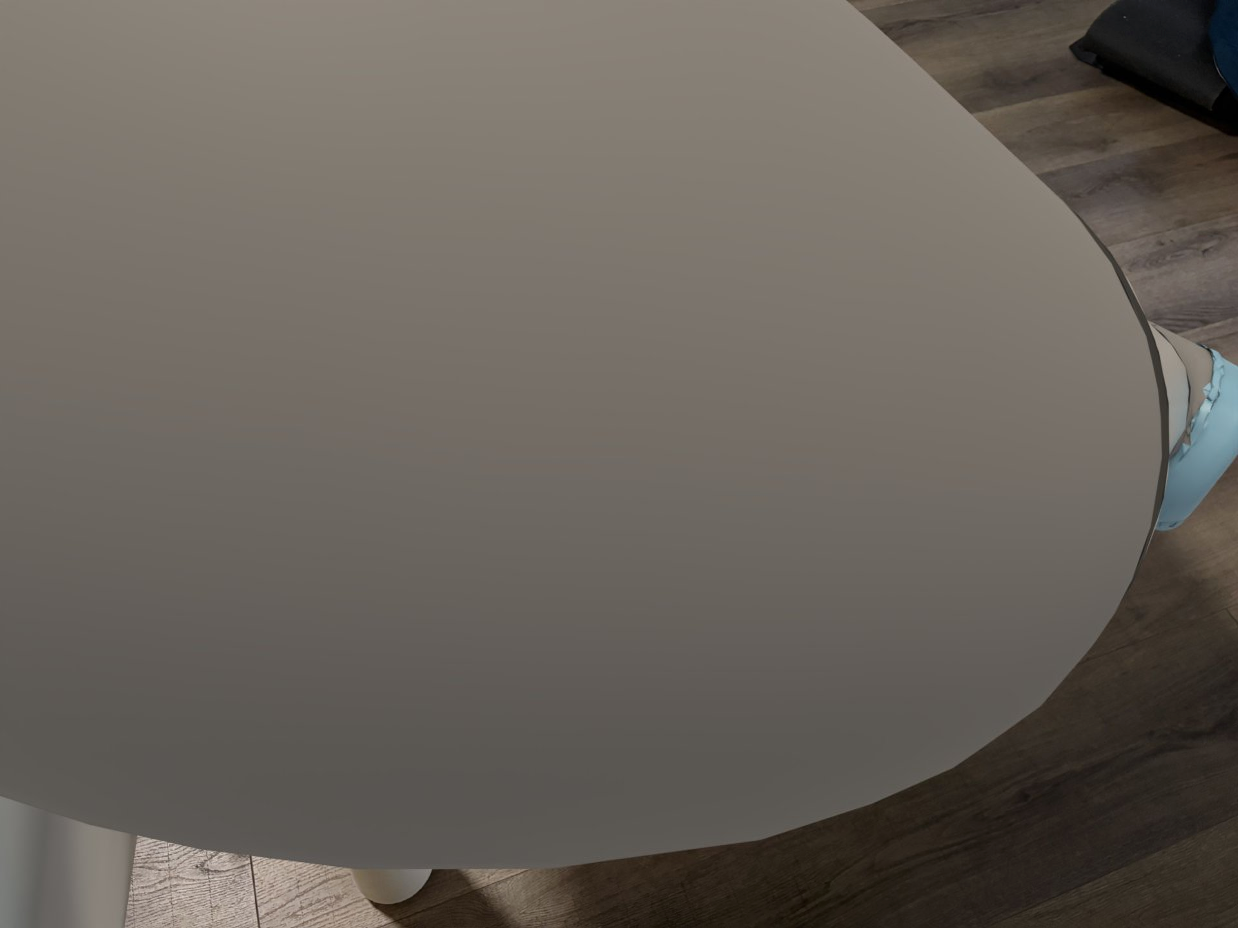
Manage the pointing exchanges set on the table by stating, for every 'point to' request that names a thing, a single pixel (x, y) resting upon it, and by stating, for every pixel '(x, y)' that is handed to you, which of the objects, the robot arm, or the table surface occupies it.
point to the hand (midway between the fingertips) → (278, 358)
